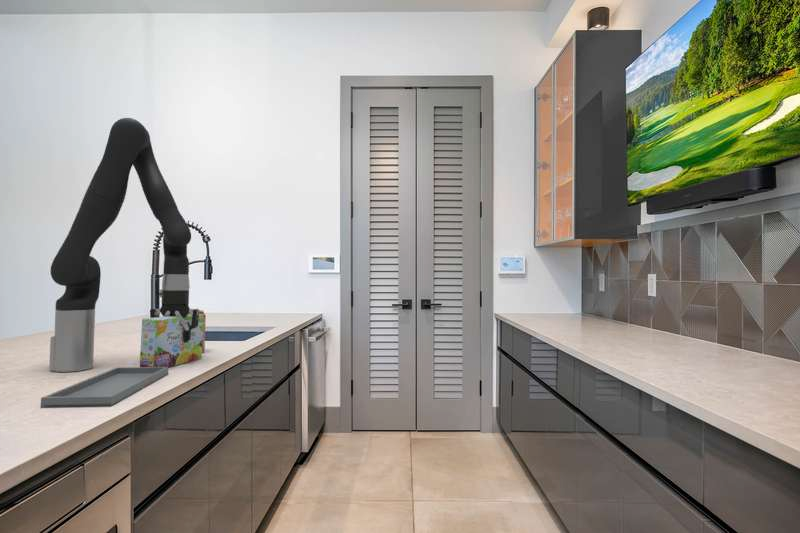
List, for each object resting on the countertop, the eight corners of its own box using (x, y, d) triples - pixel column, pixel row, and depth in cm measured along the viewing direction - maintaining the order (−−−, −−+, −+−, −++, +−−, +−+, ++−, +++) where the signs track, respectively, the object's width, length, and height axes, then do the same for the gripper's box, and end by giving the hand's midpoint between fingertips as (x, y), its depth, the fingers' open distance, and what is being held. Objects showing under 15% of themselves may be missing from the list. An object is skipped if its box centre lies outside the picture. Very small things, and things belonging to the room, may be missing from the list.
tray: (40, 407, 89) (40, 397, 89) (115, 374, 118) (116, 367, 118) (111, 406, 91) (111, 396, 91) (168, 374, 120) (168, 367, 120)
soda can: (209, 351, 156) (210, 310, 156) (194, 355, 148) (195, 311, 148) (190, 350, 158) (191, 309, 158) (174, 353, 150) (176, 311, 150)
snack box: (155, 372, 122) (157, 319, 123) (138, 371, 123) (140, 318, 124) (203, 358, 143) (204, 313, 143) (188, 357, 144) (189, 312, 144)
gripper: (145, 288, 129) (143, 344, 129) (195, 289, 131) (194, 344, 131) (156, 288, 137) (154, 340, 136) (203, 288, 138) (202, 340, 138)
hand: (174, 342), depth 133 cm, fingers closed on snack box, 6 cm apart
